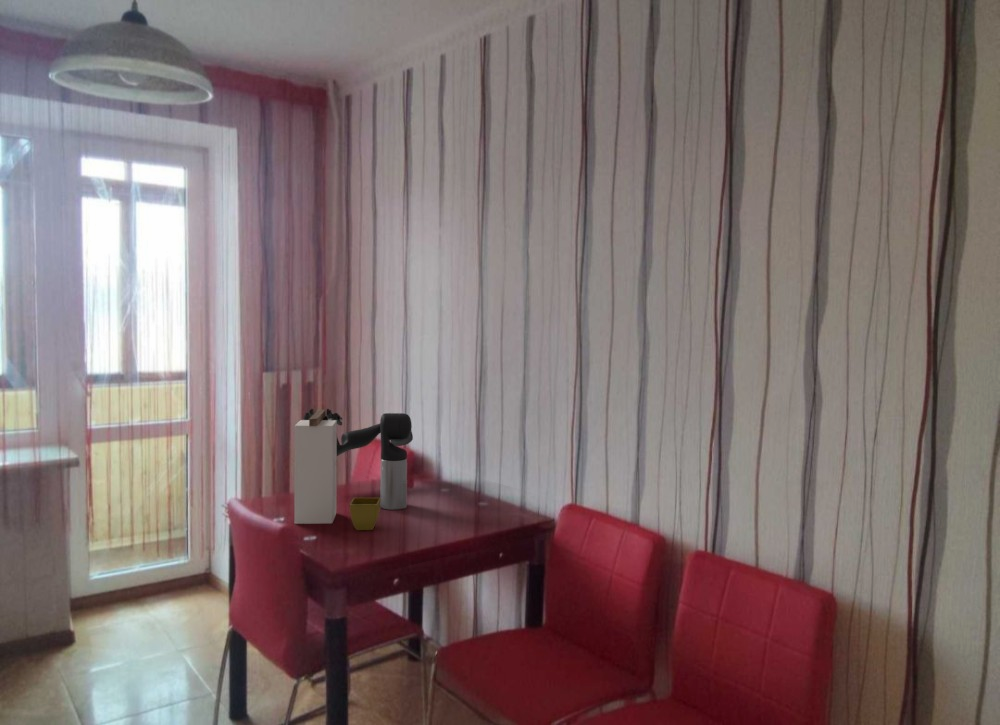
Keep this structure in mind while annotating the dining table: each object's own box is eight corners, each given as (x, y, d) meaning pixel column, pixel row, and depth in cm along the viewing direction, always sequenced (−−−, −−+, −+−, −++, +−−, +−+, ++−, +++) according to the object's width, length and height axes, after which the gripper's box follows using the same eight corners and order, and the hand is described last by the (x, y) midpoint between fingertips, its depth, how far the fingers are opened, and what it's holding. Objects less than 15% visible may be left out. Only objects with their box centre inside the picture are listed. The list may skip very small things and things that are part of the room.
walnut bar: (325, 416, 262) (325, 409, 261) (316, 426, 240) (316, 418, 240) (318, 416, 261) (318, 409, 261) (309, 426, 240) (309, 418, 239)
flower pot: (349, 532, 234) (349, 504, 234) (353, 524, 243) (353, 497, 242) (377, 532, 235) (377, 504, 234) (380, 524, 243) (381, 497, 243)
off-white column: (336, 513, 256) (336, 420, 253) (332, 523, 244) (332, 425, 241) (300, 513, 254) (300, 420, 252) (294, 523, 242) (294, 425, 240)
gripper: (344, 438, 269) (340, 421, 254) (304, 438, 268) (297, 421, 253) (345, 419, 273) (341, 401, 257) (305, 419, 271) (299, 400, 256)
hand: (319, 411), depth 255 cm, fingers open, 4 cm apart
